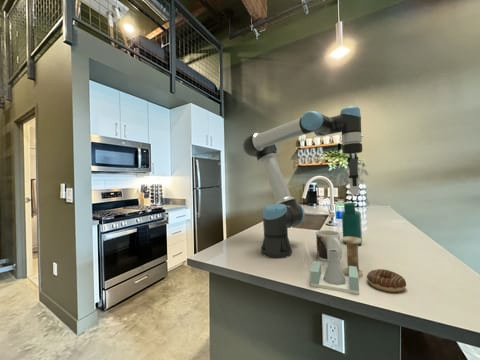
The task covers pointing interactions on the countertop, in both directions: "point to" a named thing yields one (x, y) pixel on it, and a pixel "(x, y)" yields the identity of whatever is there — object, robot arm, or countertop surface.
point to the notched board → (348, 286)
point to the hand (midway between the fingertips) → (354, 193)
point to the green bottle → (351, 222)
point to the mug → (327, 243)
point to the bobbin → (352, 253)
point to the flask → (334, 269)
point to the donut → (386, 280)
